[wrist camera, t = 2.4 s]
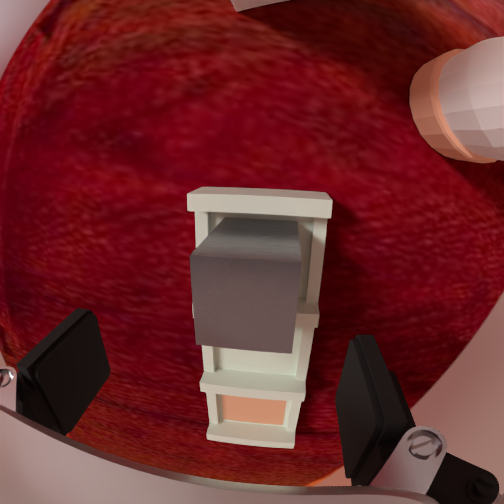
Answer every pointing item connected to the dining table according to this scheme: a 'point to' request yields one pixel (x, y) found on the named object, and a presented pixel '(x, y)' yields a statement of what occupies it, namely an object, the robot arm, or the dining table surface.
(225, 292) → the tall gray pillar
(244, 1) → the milk
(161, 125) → the dining table surface
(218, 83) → the dining table surface
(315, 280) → the white compartment tray
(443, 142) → the pepper shaker
